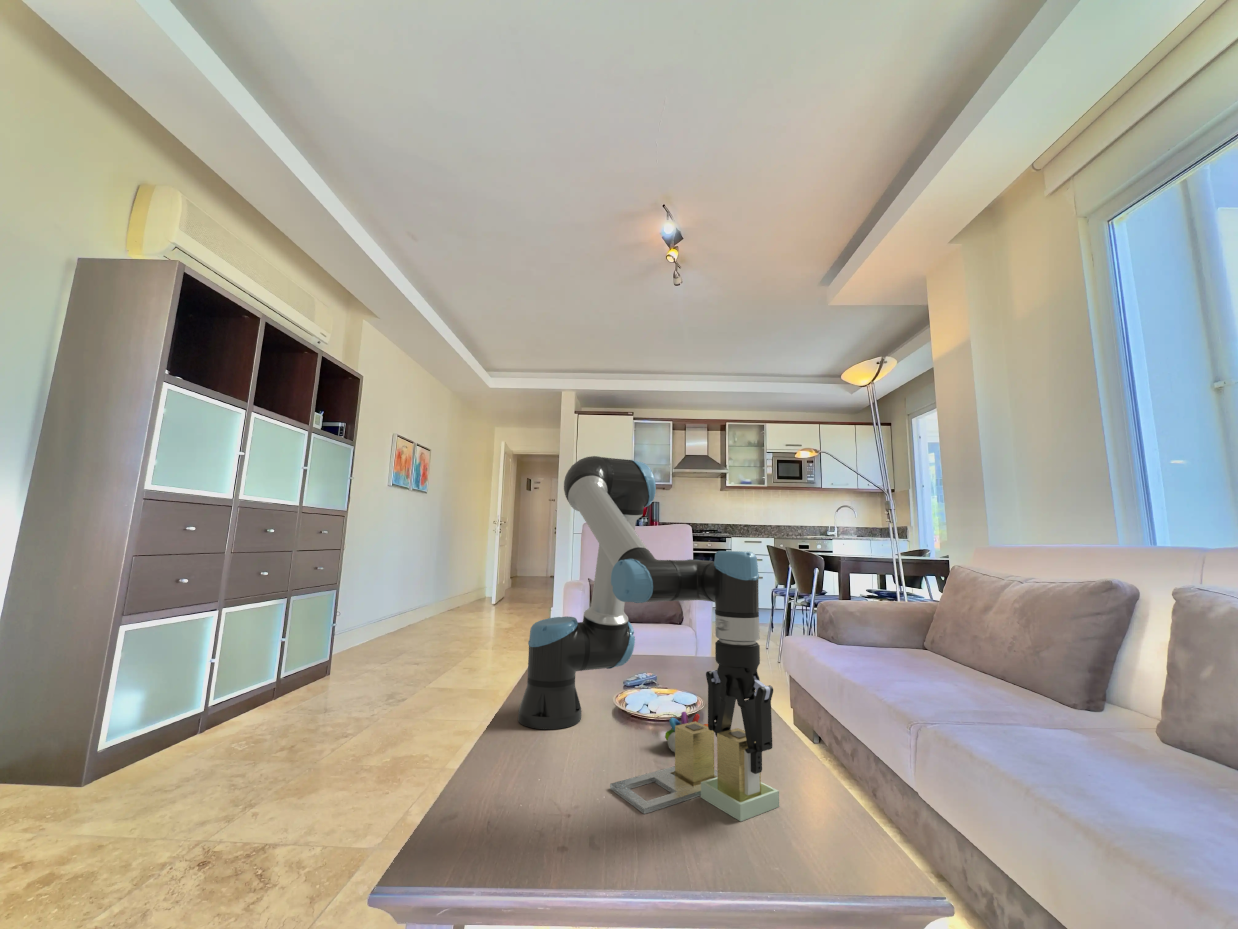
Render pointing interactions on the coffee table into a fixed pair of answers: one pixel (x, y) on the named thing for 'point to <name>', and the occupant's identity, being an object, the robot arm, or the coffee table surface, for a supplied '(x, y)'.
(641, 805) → the grey frame plate
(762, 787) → the tray
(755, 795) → the brass block
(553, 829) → the coffee table surface
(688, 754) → the tan textured tower
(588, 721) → the coffee table surface
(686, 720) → the colorful toy
